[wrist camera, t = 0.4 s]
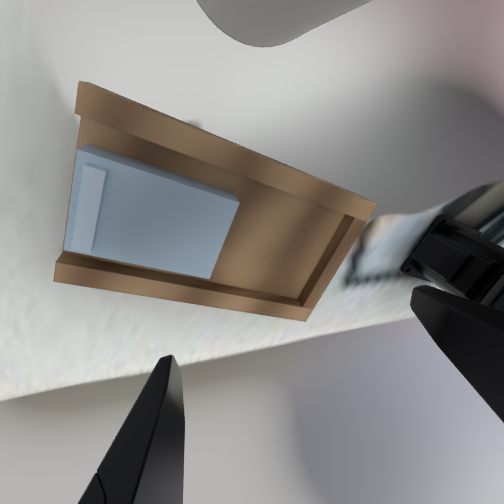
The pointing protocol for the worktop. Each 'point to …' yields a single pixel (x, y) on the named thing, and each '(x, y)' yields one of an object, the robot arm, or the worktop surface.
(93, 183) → the blue mattress with pillow
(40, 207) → the worktop surface
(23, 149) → the worktop surface
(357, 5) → the mug
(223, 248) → the brown flat wooden tray
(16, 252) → the worktop surface
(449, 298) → the robot arm
